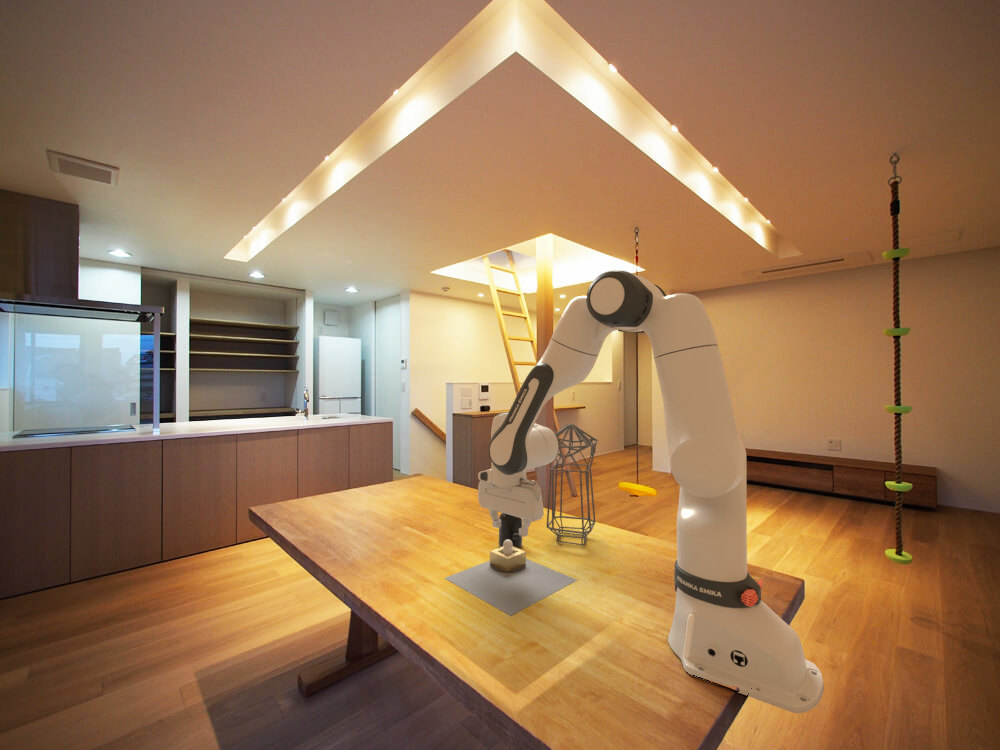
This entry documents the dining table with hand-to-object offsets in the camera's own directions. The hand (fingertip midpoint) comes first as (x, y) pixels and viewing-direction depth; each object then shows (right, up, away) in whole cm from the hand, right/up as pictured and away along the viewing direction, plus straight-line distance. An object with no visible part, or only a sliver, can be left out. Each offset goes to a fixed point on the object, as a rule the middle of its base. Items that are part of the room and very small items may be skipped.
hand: (509, 531), depth 104 cm
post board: (0, -10, -8) cm, 12 cm away
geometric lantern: (+19, -11, +21) cm, 31 cm away
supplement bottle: (+1, -11, +16) cm, 19 cm away
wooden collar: (-1, -8, 0) cm, 8 cm away
